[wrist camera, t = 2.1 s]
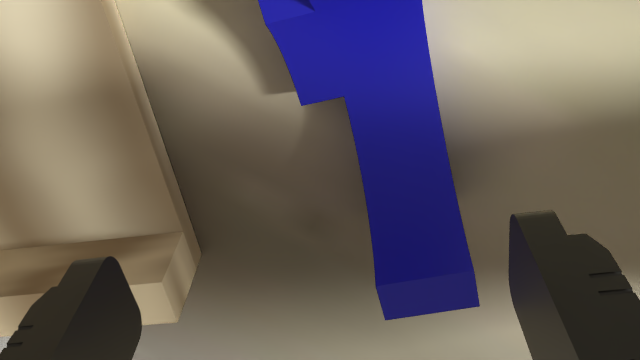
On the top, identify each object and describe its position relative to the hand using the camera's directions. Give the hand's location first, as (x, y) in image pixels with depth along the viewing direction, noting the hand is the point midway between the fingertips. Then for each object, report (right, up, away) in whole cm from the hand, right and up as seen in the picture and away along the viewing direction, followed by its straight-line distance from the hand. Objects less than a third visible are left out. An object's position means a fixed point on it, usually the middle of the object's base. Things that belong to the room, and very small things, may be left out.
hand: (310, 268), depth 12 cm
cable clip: (+2, +6, +9) cm, 11 cm away
